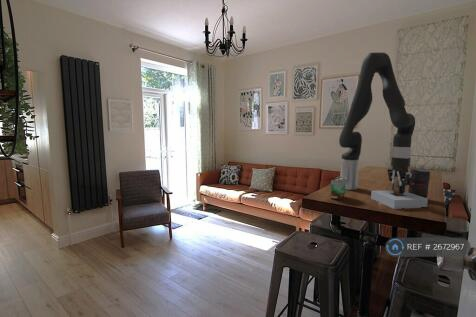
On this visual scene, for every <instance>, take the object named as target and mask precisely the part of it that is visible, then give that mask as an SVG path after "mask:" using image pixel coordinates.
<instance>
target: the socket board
mask: <svg viewBox="0 0 476 317" xmlns="http://www.w3.org/2000/svg"><path fill="white" fill-rule="evenodd" d="M393 193H394V191H392V189H388V190H371V193H370V194H371V195H370V199H371V200H374V201H376V202H377V203H380V204H382V205H385V206H387V207H389V208H391V209H393V210H398V209H399V210H401V209H402V208H404V209H422V208H421V207H427V208H428V202H429V201H428V200H429V199H428V198H427V197H426V198H424V197H421V196H418V195H415V194H412V193H409V192H408V191H406V190H405V192H404V194H402V196H395V195H393Z"/></svg>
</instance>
